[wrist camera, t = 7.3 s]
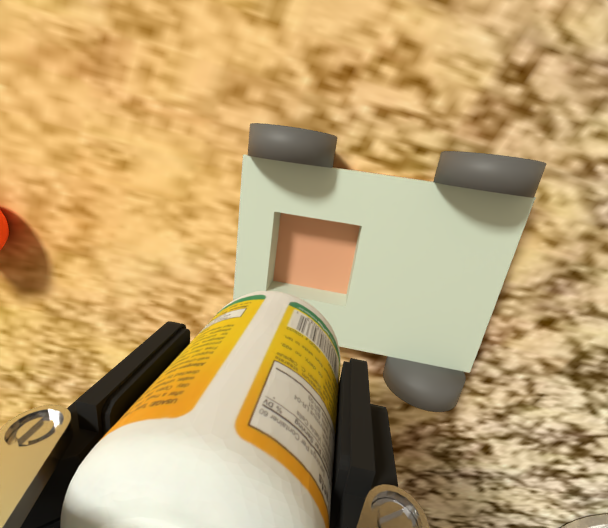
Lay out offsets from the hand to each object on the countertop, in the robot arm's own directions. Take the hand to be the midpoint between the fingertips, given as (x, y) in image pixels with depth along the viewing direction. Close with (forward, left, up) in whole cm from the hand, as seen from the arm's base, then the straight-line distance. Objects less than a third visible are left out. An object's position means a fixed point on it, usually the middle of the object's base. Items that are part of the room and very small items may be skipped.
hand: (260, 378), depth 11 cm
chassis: (-4, 0, -17) cm, 18 cm away
